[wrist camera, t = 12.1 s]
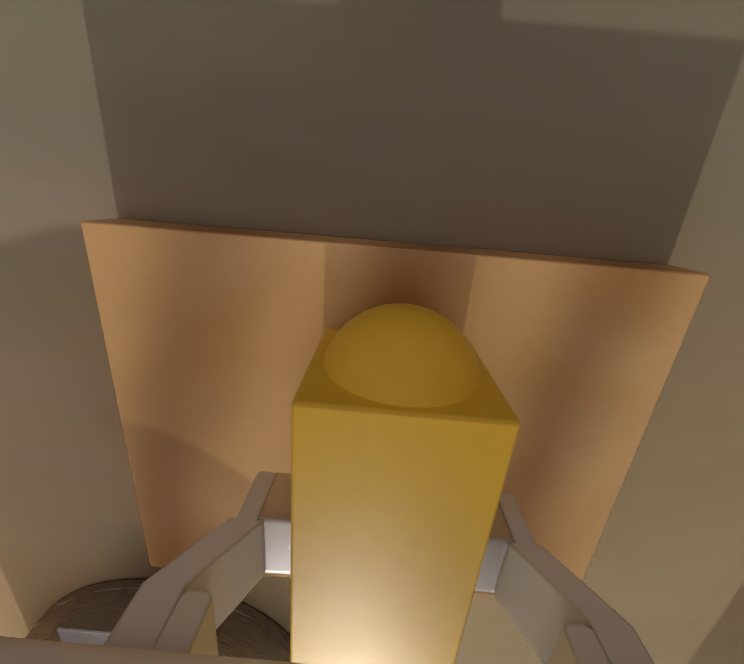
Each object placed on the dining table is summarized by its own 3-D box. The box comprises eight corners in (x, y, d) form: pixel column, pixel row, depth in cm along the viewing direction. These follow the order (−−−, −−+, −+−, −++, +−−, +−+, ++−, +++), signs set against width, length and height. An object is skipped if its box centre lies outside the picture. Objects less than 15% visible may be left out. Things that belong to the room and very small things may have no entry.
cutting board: (669, 264, 11) (711, 274, 10) (556, 565, 16) (573, 602, 15) (118, 218, 11) (79, 220, 10) (170, 533, 16) (149, 567, 15)
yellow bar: (326, 279, 10) (290, 328, 6) (480, 293, 10) (543, 351, 6) (314, 577, 14) (288, 719, 10) (422, 587, 14) (436, 732, 10)
